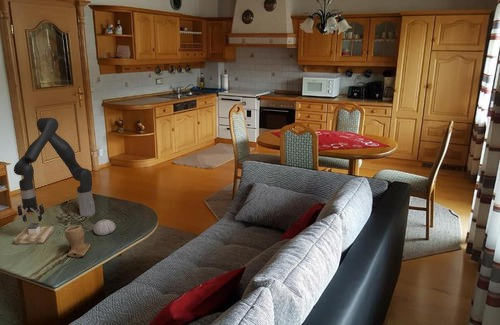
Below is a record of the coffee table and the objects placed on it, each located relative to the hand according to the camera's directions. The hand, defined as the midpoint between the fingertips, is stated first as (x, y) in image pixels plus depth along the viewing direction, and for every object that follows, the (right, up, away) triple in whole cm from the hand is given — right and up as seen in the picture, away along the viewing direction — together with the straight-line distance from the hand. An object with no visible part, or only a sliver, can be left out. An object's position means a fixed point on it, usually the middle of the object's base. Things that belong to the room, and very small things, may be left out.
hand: (32, 221), depth 245 cm
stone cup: (+33, -16, -14) cm, 39 cm away
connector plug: (0, -10, +3) cm, 10 cm away
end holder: (0, -11, +3) cm, 11 cm away
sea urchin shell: (+39, -9, +11) cm, 42 cm away
